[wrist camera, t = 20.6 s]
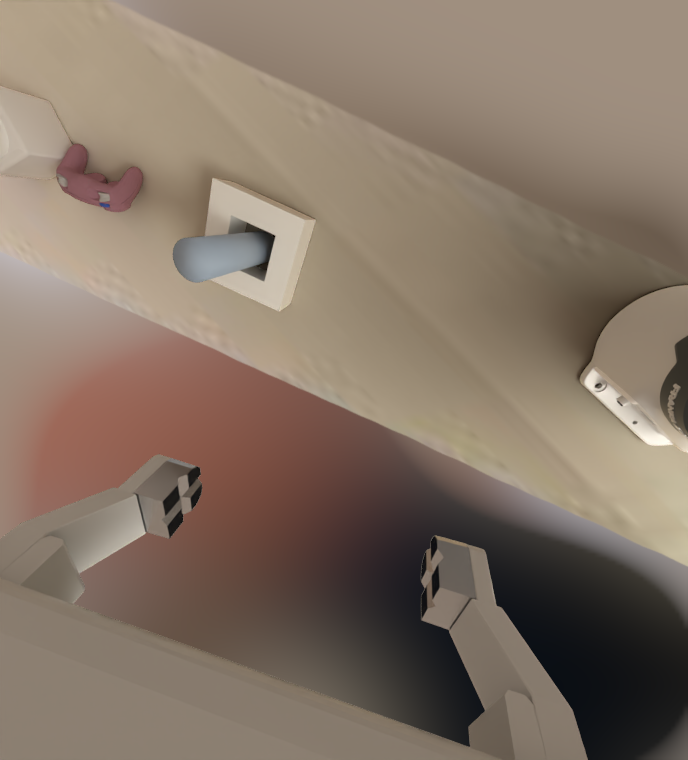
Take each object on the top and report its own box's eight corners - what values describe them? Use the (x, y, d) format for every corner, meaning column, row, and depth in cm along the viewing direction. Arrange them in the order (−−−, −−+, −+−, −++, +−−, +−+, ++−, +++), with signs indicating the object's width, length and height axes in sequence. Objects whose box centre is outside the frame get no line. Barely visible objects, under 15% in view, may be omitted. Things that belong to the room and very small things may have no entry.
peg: (282, 248, 43) (219, 263, 29) (264, 268, 45) (196, 290, 31) (262, 224, 42) (187, 228, 29) (244, 244, 44) (165, 257, 30)
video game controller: (93, 175, 46) (52, 196, 42) (76, 139, 42) (30, 159, 38) (154, 200, 46) (119, 224, 42) (143, 166, 42) (104, 188, 38)
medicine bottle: (16, 122, 43) (-112, 92, 33) (50, 99, 41) (-76, 60, 31) (50, 181, 46) (-58, 170, 36) (83, 162, 44) (-22, 146, 33)
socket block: (316, 219, 41) (305, 220, 37) (290, 303, 47) (279, 311, 43) (232, 181, 41) (212, 177, 37) (217, 270, 47) (199, 275, 43)
